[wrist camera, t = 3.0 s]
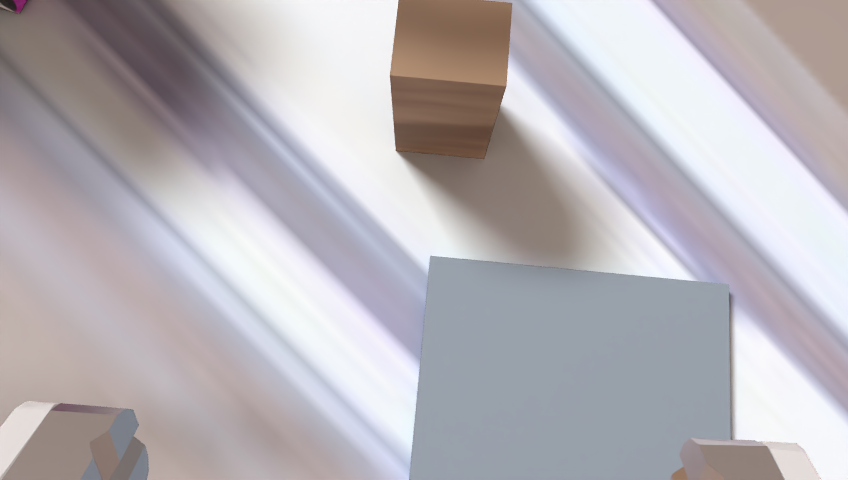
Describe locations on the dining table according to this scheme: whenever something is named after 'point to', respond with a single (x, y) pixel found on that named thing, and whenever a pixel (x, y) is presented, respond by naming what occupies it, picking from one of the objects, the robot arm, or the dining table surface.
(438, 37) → the walnut block
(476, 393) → the rubber mat
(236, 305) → the dining table surface
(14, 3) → the candy bar box
